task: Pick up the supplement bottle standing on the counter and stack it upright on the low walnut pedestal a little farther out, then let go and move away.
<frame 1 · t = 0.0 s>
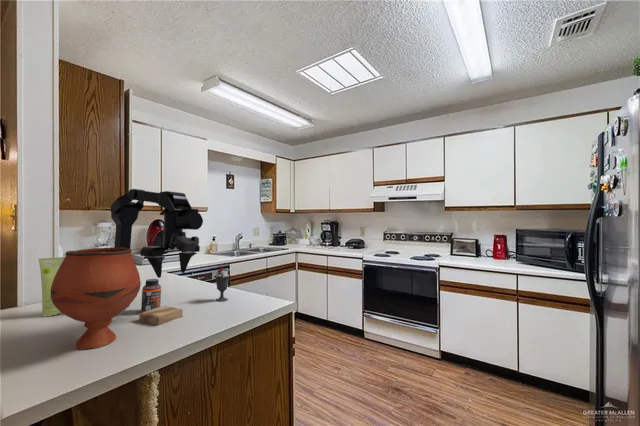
hand: (171, 275, 94), 15 cm above the worktop, tool pointing down, fingers open, 9 cm apart
tube: (51, 315, 95), on the worktop
supplement bottle: (150, 311, 101), on the worktop
pedestal: (161, 318, 94), on the worktop
sundae: (221, 300, 117), on the worktop
goblet: (96, 342, 75), on the worktop
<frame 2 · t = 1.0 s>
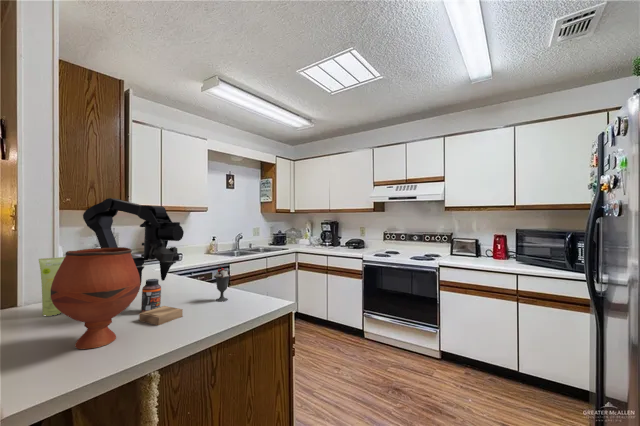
hand: (151, 282, 102), 10 cm above the worktop, tool pointing down, fingers open, 9 cm apart
nothing on the worktop moved.
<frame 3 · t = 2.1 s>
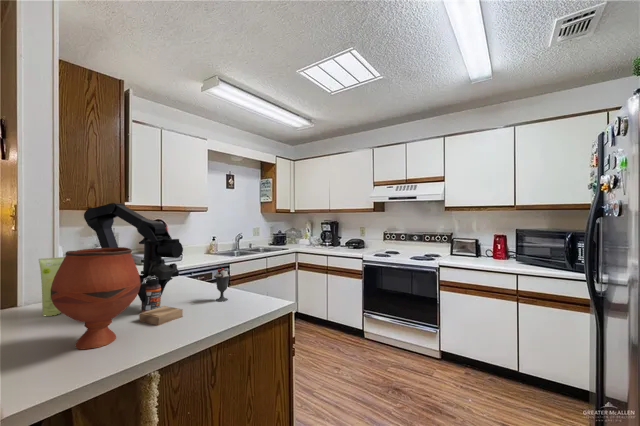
hand: (151, 299, 101), 4 cm above the worktop, tool pointing down, fingers closed on supplement bottle, 6 cm apart
supplement bottle: (150, 311, 101), on the worktop, touching gripper
everything else where it was.
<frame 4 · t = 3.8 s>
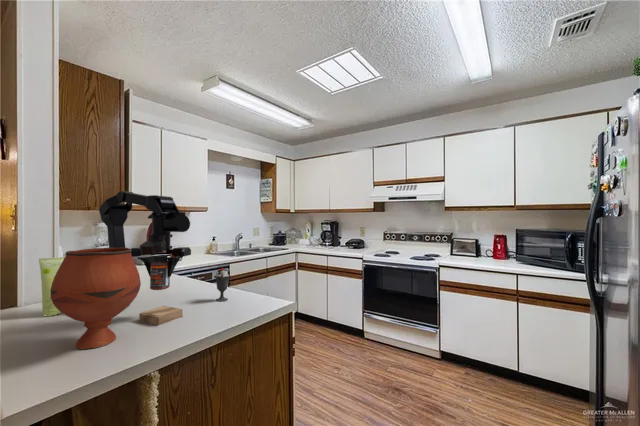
hand: (160, 276, 97), 13 cm above the worktop, tool pointing down, fingers closed on supplement bottle, 6 cm apart
supplement bottle: (159, 289, 96), point 9 cm above the worktop, touching gripper
everything else where it was.
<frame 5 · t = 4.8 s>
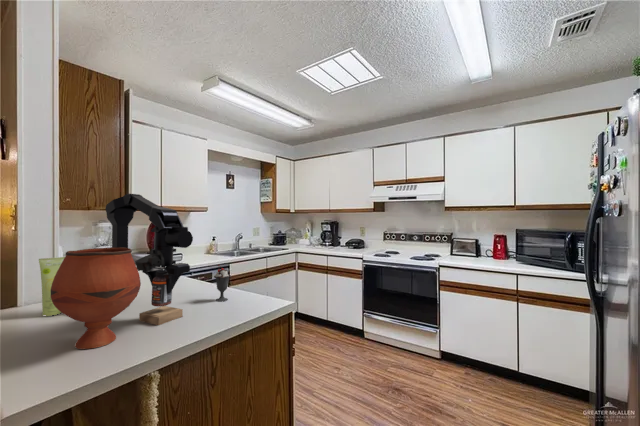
hand: (162, 292, 94), 9 cm above the worktop, tool pointing down, fingers closed on supplement bottle, 6 cm apart
supplement bottle: (161, 304, 94), point 5 cm above the worktop, touching gripper
everything else where it was.
when the fingers open (7 cm above the worktop, at t = 5.5 s): supplement bottle stays where it is, resting on pedestal.
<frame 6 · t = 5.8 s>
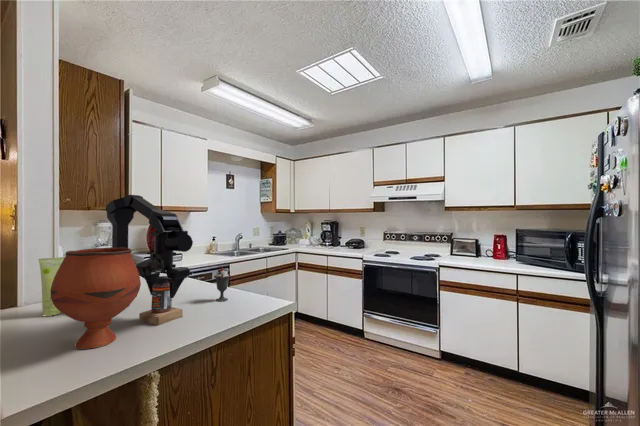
hand: (162, 296, 94), 7 cm above the worktop, tool pointing down, fingers open, 9 cm apart
supplement bottle: (161, 311, 94), point 2 cm above the worktop, touching pedestal
everything else where it was.
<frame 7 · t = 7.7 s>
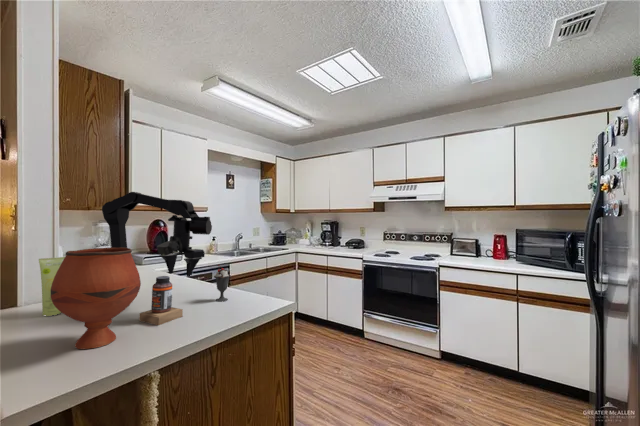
hand: (179, 275, 105), 13 cm above the worktop, tool pointing down, fingers open, 9 cm apart
nothing on the worktop moved.
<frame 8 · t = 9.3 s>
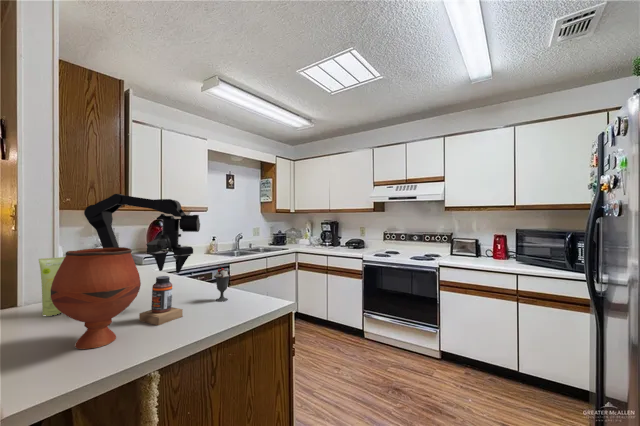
hand: (169, 271, 108), 13 cm above the worktop, tool pointing down, fingers open, 9 cm apart
nothing on the worktop moved.
at the end: supplement bottle 0.1 cm off-centre on the pedestal, point 2.5 cm above the pedestal's base; supplement bottle tilted 0°; the gripper is holding nothing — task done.
